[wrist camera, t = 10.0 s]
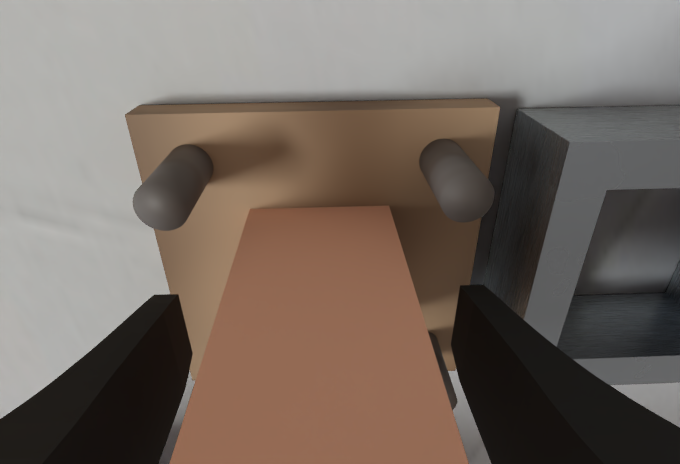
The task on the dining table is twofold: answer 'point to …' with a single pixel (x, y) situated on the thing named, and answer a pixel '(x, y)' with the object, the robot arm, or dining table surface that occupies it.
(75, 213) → the dining table surface
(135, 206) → the board
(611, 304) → the socket collar
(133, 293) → the dining table surface
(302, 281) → the pin
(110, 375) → the robot arm
